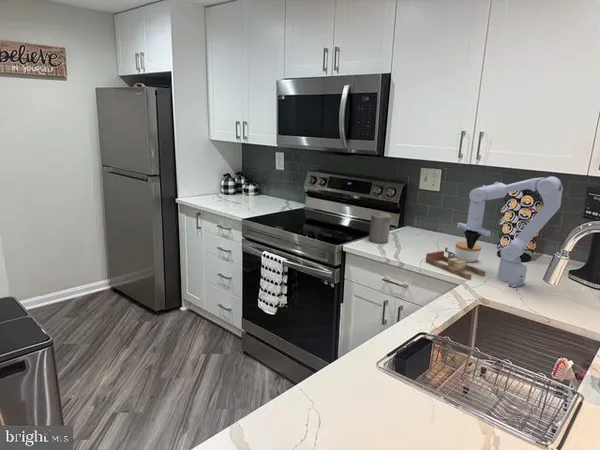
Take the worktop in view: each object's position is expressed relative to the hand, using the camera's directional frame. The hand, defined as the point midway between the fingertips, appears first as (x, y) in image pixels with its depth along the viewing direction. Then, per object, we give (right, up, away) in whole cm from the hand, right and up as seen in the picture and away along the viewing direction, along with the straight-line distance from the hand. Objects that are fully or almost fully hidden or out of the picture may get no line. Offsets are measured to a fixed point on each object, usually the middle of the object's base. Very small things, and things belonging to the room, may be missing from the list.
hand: (470, 248), depth 180 cm
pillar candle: (-32, +1, +38) cm, 49 cm away
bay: (-7, -10, 0) cm, 12 cm away
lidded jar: (+3, -7, +14) cm, 16 cm away
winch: (-5, -7, +12) cm, 15 cm away
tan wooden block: (-6, -9, -1) cm, 11 cm away
